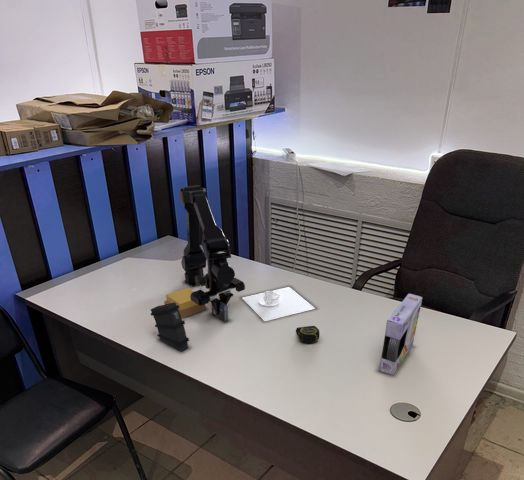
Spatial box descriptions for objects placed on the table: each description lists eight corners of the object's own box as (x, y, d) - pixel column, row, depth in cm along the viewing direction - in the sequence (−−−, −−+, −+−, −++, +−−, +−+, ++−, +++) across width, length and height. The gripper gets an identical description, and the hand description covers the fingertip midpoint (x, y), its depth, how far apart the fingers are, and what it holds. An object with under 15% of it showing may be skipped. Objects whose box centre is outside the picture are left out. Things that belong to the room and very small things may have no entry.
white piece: (276, 295, 185) (276, 285, 182) (286, 304, 178) (286, 293, 176) (254, 300, 181) (254, 290, 179) (264, 309, 175) (263, 299, 173)
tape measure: (315, 333, 161) (316, 323, 159) (321, 344, 155) (322, 334, 153) (295, 335, 160) (295, 325, 158) (300, 346, 154) (300, 336, 152)
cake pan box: (393, 378, 139) (401, 324, 130) (376, 373, 142) (383, 319, 132) (414, 347, 153) (423, 295, 143) (398, 342, 155) (406, 291, 146)
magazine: (186, 351, 150) (167, 306, 146) (164, 353, 160) (145, 310, 156) (195, 346, 152) (177, 301, 149) (173, 348, 162) (155, 306, 159)
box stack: (191, 299, 183) (189, 286, 180) (206, 309, 176) (204, 295, 173) (165, 309, 177) (163, 295, 174) (179, 319, 171) (177, 305, 168)
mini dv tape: (211, 313, 174) (210, 298, 170) (215, 312, 174) (214, 297, 171) (224, 322, 168) (223, 306, 165) (228, 321, 169) (227, 305, 166)
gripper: (225, 257, 172) (228, 297, 181) (179, 271, 162) (184, 313, 171) (245, 266, 165) (246, 308, 173) (197, 282, 155) (202, 325, 164)
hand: (219, 313), depth 170 cm, fingers closed on mini dv tape, 1 cm apart
